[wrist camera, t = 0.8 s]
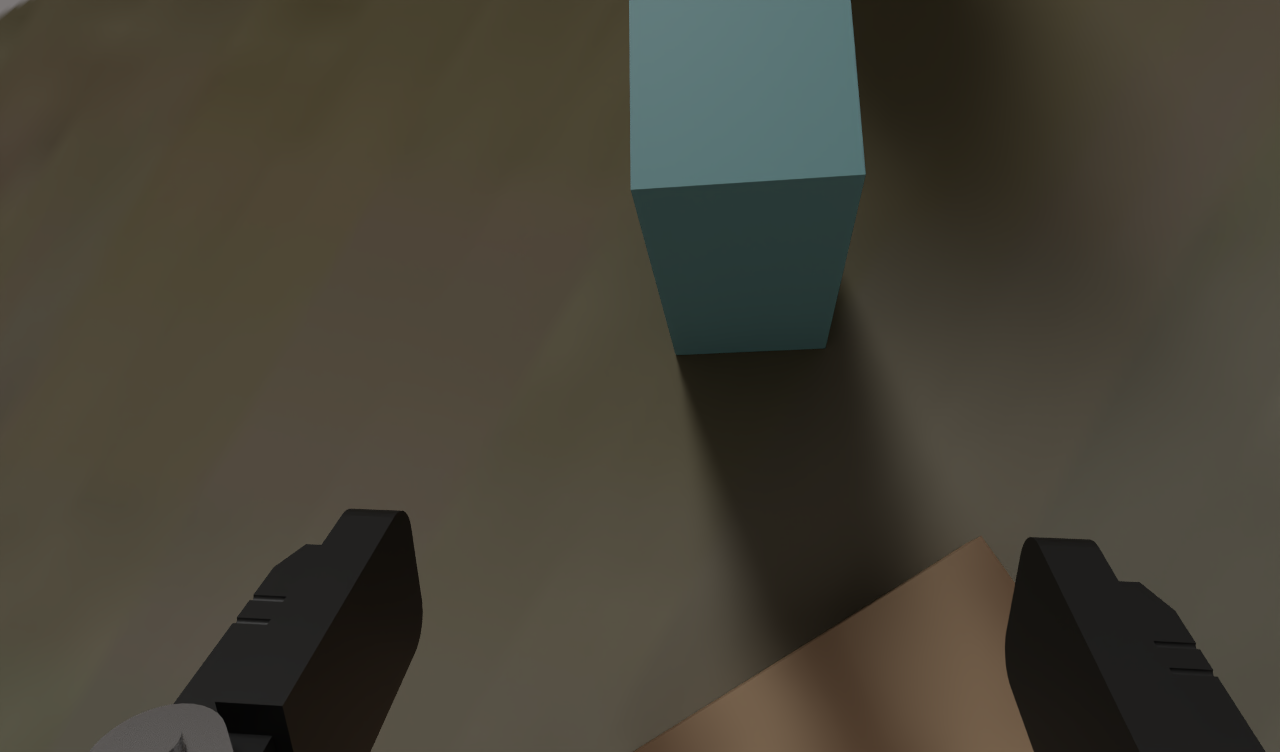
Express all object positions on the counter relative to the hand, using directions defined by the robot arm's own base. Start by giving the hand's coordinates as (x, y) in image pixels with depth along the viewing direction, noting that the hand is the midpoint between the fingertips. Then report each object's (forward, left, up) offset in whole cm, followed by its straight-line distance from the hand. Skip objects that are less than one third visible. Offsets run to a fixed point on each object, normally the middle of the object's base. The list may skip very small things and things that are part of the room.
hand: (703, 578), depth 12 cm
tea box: (-6, -9, -18) cm, 21 cm away
